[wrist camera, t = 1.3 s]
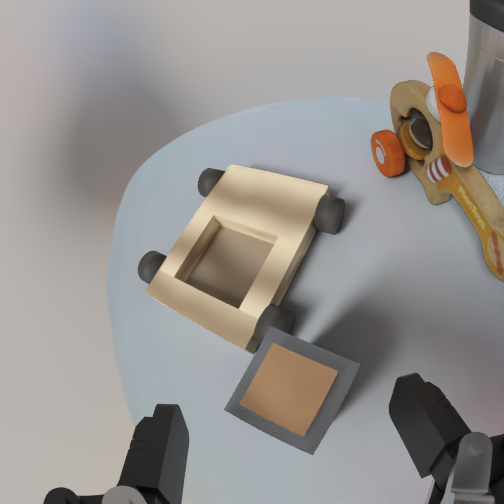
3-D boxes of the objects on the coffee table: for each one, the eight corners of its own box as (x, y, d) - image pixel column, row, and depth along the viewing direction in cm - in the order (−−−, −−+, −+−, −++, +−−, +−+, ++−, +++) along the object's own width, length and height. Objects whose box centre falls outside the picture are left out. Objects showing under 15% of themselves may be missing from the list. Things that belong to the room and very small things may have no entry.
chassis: (224, 175, 33) (214, 156, 31) (347, 207, 27) (347, 185, 24) (145, 293, 28) (127, 280, 26) (273, 364, 22) (264, 358, 19)
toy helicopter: (420, 137, 29) (430, 36, 18) (516, 287, 18) (598, 196, 6) (364, 151, 30) (360, 40, 19) (455, 321, 19) (547, 231, 7)
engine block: (296, 357, 22) (265, 320, 12) (348, 379, 20) (362, 360, 10) (269, 407, 20) (215, 409, 11) (321, 431, 18) (311, 459, 9)
